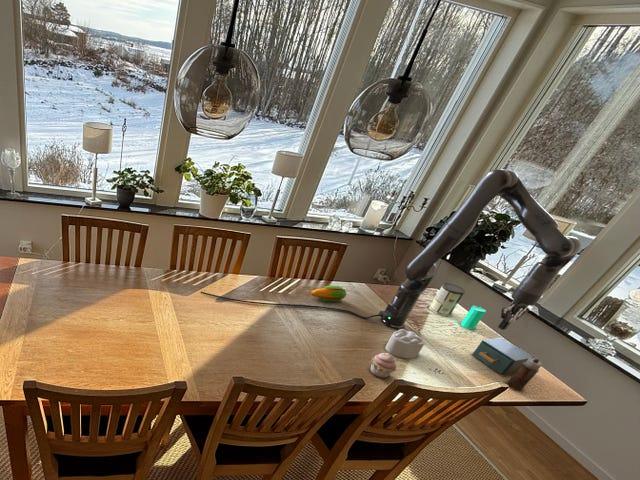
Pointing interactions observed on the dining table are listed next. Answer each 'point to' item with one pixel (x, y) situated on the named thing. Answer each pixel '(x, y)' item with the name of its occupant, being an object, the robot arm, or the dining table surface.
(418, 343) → the lumpy-topped squat cylinder
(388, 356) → the cupcake
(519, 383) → the pepper mill
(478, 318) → the candle
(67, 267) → the dining table surface
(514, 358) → the cabinet
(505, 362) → the drawer
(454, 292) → the coffee can
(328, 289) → the corn
